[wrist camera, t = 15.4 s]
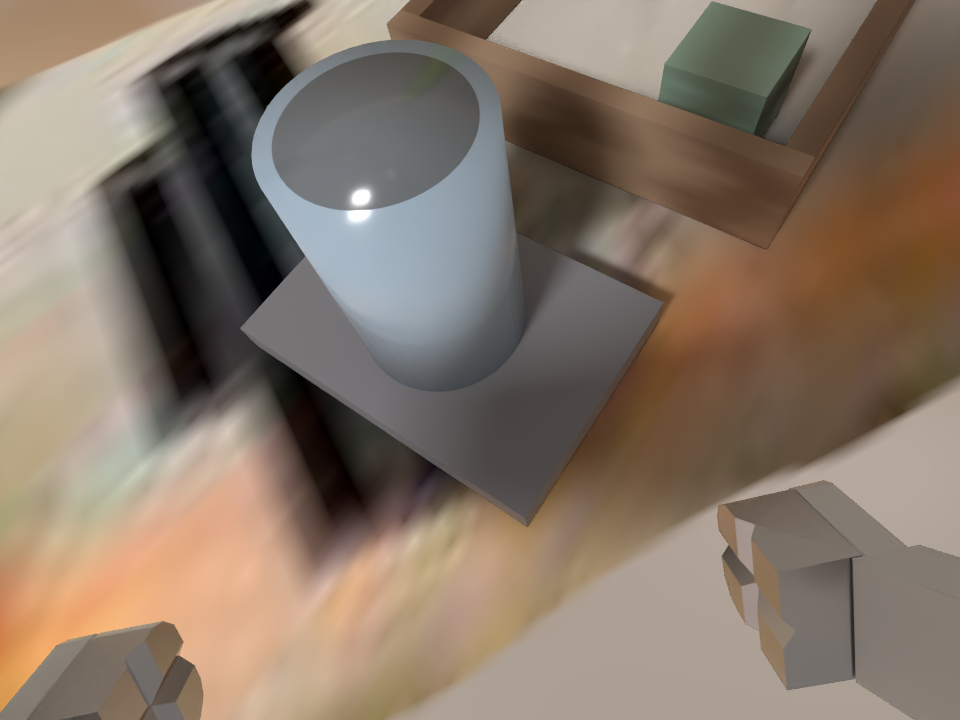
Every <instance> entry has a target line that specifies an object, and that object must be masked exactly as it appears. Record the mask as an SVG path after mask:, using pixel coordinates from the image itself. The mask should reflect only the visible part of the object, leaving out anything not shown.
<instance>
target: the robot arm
mask: <svg viewBox="0 0 960 720" xmlns="http://www.w3.org/2000/svg"><path fill="white" fill-rule="evenodd" d="M717 516H718V526H719V531H720V533H721V534H722V536H723V537H724V538H725V540H726V541H727V543H728V544H729V545H728V547H727V549H726V550H725V552H724V554H723V555H722V560H723V568H724V575H725V579H726V582H727V586H728V589H729V592H730V596H731V598H732V600H733V602H734V604H735V606H736V608H737V611H738V612H739V614H740V616H741V617H742V619H743V621H744V622H745V624H746V625H748V626H750V627H752V628H754V629H756V630H758V631H759V634H760V643H761V650H762V652H763V653H764V655H765V656H766V658H767V659H768V661H769V663H770V664H771V666H772V667H773V669H774V670H775V672H776V674H777V675H778V677H779V678H780V680H781V682H782V683H783V685H784V686H785V688H786V690H792V689H798V688H803V687H809V686H816V685H822V684H828V683H833V682H840V681H846V680H852V679H856V683H858V684H859V685H861V686H862V687H864V688H865V689H867V690H869V691H870V692H872V693H873V694H875V695H877V696H878V697H880V698H881V699H883V700H884V701H886V702H888V703H889V704H890V705H892V706H894V707H895V708H897V709H898V710H900V711H901V712H903V713H905V714H906V715H908V716H909V717H911V718H912V719H914V720H960V558H959V557H956V556H953V555H950V554H946V553H943V552H940V551H937V550H934V549H931V548H927V547H925V546H921V545H917V546H912V547H907V546H906V545H904V544H903V543H902V542H901V541H900V540H899V539H897V538H896V537H895V536H894V535H892V534H891V533H890V532H889V531H888V530H887V529H886V528H884V527H883V526H882V525H881V524H880V523H879V522H877V521H876V520H875V519H874V518H872V517H871V516H870V515H869V514H868V513H867V512H865V511H864V510H863V509H862V508H861V507H860V506H859V505H857V504H856V503H855V502H854V501H853V500H851V499H850V498H849V497H848V496H846V495H845V494H844V493H843V492H842V491H841V490H840V489H838V488H837V487H836V486H835V485H834V484H833V483H831V482H827V481H819V482H815V483H812V484H807V485H803V486H799V487H795V488H790V489H789V490H786V491H782V492H777V493H773V494H768V495H764V496H759V497H754V498H751V499H746V500H741V501H736V502H732V503H727V504H723V505H719V506H718V515H717ZM182 645H183V640H182V638H181V636H180V635H179V633H178V631H177V629H176V627H175V625H174V624H171V623H167V622H164V621H162V622H157V623H152V624H146V625H141V626H135V627H130V628H125V629H119V630H114V631H109V632H103V633H100V634H93V635H89V636H84V637H79V638H74V639H70V640H67V641H65V642H63V643H61V644H59V645H57V646H56V647H55V648H54V649H53V650H52V652H51V653H50V654H49V655H48V656H47V658H46V659H45V660H44V661H43V662H42V664H41V665H40V666H39V667H38V668H37V670H36V671H35V672H34V673H33V674H32V675H31V677H30V678H29V679H28V680H27V681H26V683H25V684H24V685H23V686H22V687H21V689H20V690H19V691H18V692H17V693H16V695H15V696H14V697H13V698H12V699H11V700H10V702H9V703H8V704H7V705H6V706H5V708H4V709H3V710H2V711H1V712H0V720H200V717H201V711H202V703H203V689H202V683H201V678H200V676H199V674H198V672H197V669H196V667H195V665H193V664H192V663H190V662H188V661H187V660H185V659H184V658H182V657H180V656H179V654H180V651H181V648H182Z"/></svg>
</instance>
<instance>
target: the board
mask: <svg viewBox="0 0 960 720" xmlns="http://www.w3.org/2000/svg"><path fill="white" fill-rule="evenodd" d="M516 234H517V242H518V251H519V259H520V267H521V275H522V283H523V291H524V300H525V308H526V319H525V325H524V330H523V333H522V336H521V339H520V341H519V343H518V345H517V347H516V349H515V350H514V352H513V353H512V355H511V356H510V357H509V359H508V360H507V361H506V362H505V363H504V364H503V365H502V366H501V367H500V368H499V369H498V370H497V371H495V372H494V373H493V374H491V375H490V376H488V377H487V378H485V379H483V380H481V381H480V382H478V383H475V384H473V385H470V386H468V387H464V388H461V389H457V390H451V391H440V392H433V391H423V390H419V389H414V388H411V387H408V386H406V385H403V384H401V383H399V382H398V381H396V380H394V379H393V378H391V377H390V376H389V375H387V374H386V373H385V372H384V371H383V370H382V369H381V368H380V367H379V366H378V364H377V363H376V362H375V360H374V359H373V357H372V356H371V354H370V353H369V351H368V350H367V348H366V347H365V345H364V344H363V342H362V341H361V339H360V338H359V336H358V335H357V333H356V331H355V330H354V328H353V327H352V325H351V324H350V322H349V321H348V319H347V318H346V316H345V315H344V313H343V312H342V310H341V309H340V307H339V306H338V304H337V303H336V301H335V300H334V298H333V297H332V295H331V294H330V292H329V291H328V289H327V288H326V286H325V285H324V283H323V282H322V280H321V279H320V277H319V276H318V274H317V272H316V271H315V269H314V268H313V266H312V265H311V263H310V262H309V260H308V259H307V257H306V256H305V257H304V258H303V259H302V261H301V262H300V263H299V264H298V265H297V266H296V267H295V268H294V269H293V271H292V272H291V273H290V274H289V275H288V276H287V277H286V278H285V279H284V281H283V282H282V283H281V284H280V285H279V286H278V287H277V288H276V289H275V290H274V292H273V293H272V294H271V295H270V296H269V297H268V298H267V299H266V300H265V302H264V303H263V304H262V305H261V306H260V307H259V308H258V309H257V310H256V312H255V313H254V314H253V315H252V316H251V317H250V318H249V319H248V320H247V321H246V323H245V324H244V325H243V326H242V327H241V328H240V329H241V330H242V331H243V332H244V333H245V334H246V335H247V336H248V337H249V338H250V339H251V340H252V341H253V342H254V343H255V344H256V345H257V346H259V347H260V348H262V349H263V350H264V351H266V352H267V353H269V354H270V355H272V356H273V357H275V358H276V359H278V360H279V361H281V362H282V363H284V364H285V365H287V366H288V367H290V368H291V369H293V370H294V371H296V372H297V373H299V374H300V375H302V376H303V377H305V378H306V379H308V380H309V381H311V382H312V383H314V384H315V385H317V386H318V387H320V388H321V389H323V390H324V391H326V392H327V393H329V394H330V395H332V396H333V397H335V398H336V399H337V400H339V401H340V402H342V403H343V404H345V405H346V406H348V407H349V408H351V409H352V410H354V411H355V412H357V413H358V414H360V415H361V416H363V417H364V418H366V419H367V420H369V421H370V422H372V423H373V424H375V425H376V426H378V427H379V428H381V429H382V430H384V431H385V432H387V433H388V434H390V435H391V436H393V437H394V438H396V439H397V440H399V441H400V442H402V443H403V444H405V445H406V446H408V447H409V448H411V449H412V450H413V451H415V452H416V453H418V454H419V455H421V456H422V457H424V458H425V459H427V460H428V461H430V462H431V463H433V464H434V465H436V466H437V467H439V468H440V469H442V470H443V471H445V472H446V473H448V474H449V475H451V476H452V477H454V478H455V479H457V480H458V481H460V482H461V483H463V484H464V485H466V486H467V487H469V488H470V489H472V490H473V491H475V492H476V493H478V494H479V495H481V496H482V497H484V498H485V499H487V500H488V501H489V502H491V503H492V504H494V505H495V506H497V507H498V508H500V509H501V510H503V511H504V512H506V513H507V514H509V515H510V516H512V517H513V518H515V519H516V520H518V521H519V522H521V523H522V524H524V525H525V526H527V527H528V525H529V524H530V522H531V521H532V519H533V518H534V516H535V514H536V513H537V511H538V510H539V508H540V507H541V505H542V503H543V502H544V500H545V499H546V497H547V496H548V494H549V492H550V491H551V489H552V488H553V486H554V485H555V483H556V482H557V480H558V478H559V477H560V475H561V474H562V472H563V471H564V469H565V467H566V466H567V464H568V463H569V461H570V460H571V458H572V456H573V455H574V453H575V452H576V450H577V449H578V447H579V446H580V444H581V442H582V441H583V439H584V438H585V436H586V435H587V433H588V431H589V430H590V428H591V427H592V425H593V424H594V422H595V420H596V419H597V417H598V416H599V414H600V413H601V411H602V410H603V408H604V406H605V405H606V403H607V402H608V400H609V399H610V397H611V395H612V394H613V392H614V391H615V389H616V388H617V386H618V384H619V383H620V381H621V380H622V378H623V377H624V375H625V374H626V372H627V370H628V369H629V367H630V366H631V364H632V363H633V361H634V359H635V358H636V356H637V355H638V353H639V352H640V350H641V348H642V347H643V345H644V344H645V342H646V341H647V339H648V338H649V336H650V334H651V333H652V331H653V330H654V328H655V327H656V325H657V323H658V320H659V317H660V313H661V310H662V306H663V302H661V301H659V300H657V299H655V298H653V297H651V296H649V295H647V294H644V293H642V292H640V291H638V290H636V289H634V288H632V287H630V286H628V285H626V284H624V283H621V282H619V281H617V280H615V279H613V278H611V277H609V276H607V275H605V274H603V273H600V272H598V271H596V270H594V269H592V268H590V267H588V266H586V265H584V264H582V263H580V262H577V261H575V260H573V259H571V258H569V257H567V256H565V255H563V254H561V253H559V252H556V251H554V250H552V249H550V248H548V247H546V246H544V245H542V244H540V243H538V242H536V241H533V240H531V239H529V238H527V237H525V236H523V235H521V234H519V233H517V232H516Z"/></svg>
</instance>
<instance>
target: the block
mask: <svg viewBox="0 0 960 720" xmlns="http://www.w3.org/2000/svg"><path fill="white" fill-rule="evenodd" d="M811 30H812V29H809V28H805V27H801V26H798V25H794V24H791V23H787V22H784V21H780V20H777V19H773V18H769V17H766V16H762V15H759V14H755V13H752V12H748V11H745V10H741V9H737V8H734V7H730V6H727V5H723V4H720V3H716V2H713V1H712V2H711V3H710V5H709V6H708V7H707V9H706V10H705V11H704V13H703V14H702V15H701V16H700V18H699V19H698V20H697V22H696V23H695V24H694V26H693V27H692V28H691V30H690V31H689V32H688V34H687V35H686V36H685V38H684V39H683V40H682V42H681V43H680V44H679V46H678V47H677V48H676V50H675V51H674V52H673V54H672V55H671V56H670V58H669V59H668V60H667V62H666V63H665V65H664V71H663V77H662V82H661V88H660V94H659V100H658V101H659V102H662V103H665V104H667V105H670V106H673V107H676V108H679V109H682V110H684V111H687V112H690V113H693V114H696V115H698V116H701V117H704V118H707V119H710V120H713V121H715V122H718V123H721V124H724V125H727V126H729V127H732V128H735V129H738V130H741V131H744V132H746V133H749V134H752V135H755V136H758V137H760V138H762V137H763V136H764V134H765V133H766V131H767V130H768V128H769V127H770V125H771V123H772V122H773V120H774V119H775V117H776V116H777V114H778V113H779V111H780V108H781V105H782V103H783V100H784V98H785V95H786V93H787V90H788V88H789V85H790V83H791V80H792V78H793V75H794V73H795V70H796V68H797V65H798V63H799V60H800V58H801V55H802V53H803V50H804V48H805V45H806V43H807V40H808V38H809V35H810V33H811Z"/></svg>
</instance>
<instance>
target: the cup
mask: <svg viewBox="0 0 960 720" xmlns="http://www.w3.org/2000/svg"><path fill="white" fill-rule="evenodd" d="M252 165H253V170H254V173H255V177H256V179H257V181H258V183H259V185H260V187H261V189H262V191H263V192H264V194H265V195H266V197H267V198H268V200H269V201H270V203H271V204H272V206H273V207H274V209H275V210H276V212H277V213H278V215H279V217H280V218H281V220H282V221H283V223H284V224H285V226H286V227H287V229H288V230H289V232H290V233H291V235H292V236H293V238H294V239H295V241H296V242H297V244H298V245H299V247H300V248H301V250H302V251H303V253H304V254H305V256H306V257H307V259H308V260H309V262H310V263H311V265H312V266H313V268H314V269H315V271H316V272H317V274H318V276H319V277H320V279H321V280H322V282H323V283H324V285H325V286H326V288H327V289H328V291H329V292H330V294H331V295H332V297H333V298H334V300H335V301H336V303H337V304H338V306H339V307H340V309H341V310H342V312H343V313H344V315H345V316H346V318H347V319H348V321H349V322H350V324H351V325H352V327H353V328H354V330H355V331H356V333H357V335H358V336H359V338H360V339H361V341H362V342H363V344H364V345H365V347H366V348H367V350H368V351H369V353H370V354H371V356H372V357H373V359H374V360H375V362H376V363H377V364H378V366H379V367H380V368H381V369H382V370H383V371H384V372H385V373H386V374H387V375H389V376H390V377H391V378H393V379H394V380H396V381H398V382H399V383H401V384H403V385H406V386H408V387H411V388H414V389H419V390H423V391H433V392H440V391H451V390H457V389H461V388H464V387H468V386H470V385H473V384H475V383H478V382H480V381H481V380H483V379H485V378H487V377H488V376H490V375H491V374H493V373H494V372H495V371H497V370H498V369H499V368H500V367H501V366H502V365H503V364H504V363H505V362H506V361H507V360H508V359H509V357H510V356H511V355H512V353H513V352H514V350H515V349H516V347H517V345H518V343H519V341H520V339H521V336H522V333H523V330H524V325H525V319H526V308H525V300H524V291H523V283H522V275H521V267H520V259H519V251H518V242H517V234H516V226H515V218H514V210H513V201H512V193H511V185H510V177H509V169H508V160H507V152H506V144H505V136H504V128H503V119H502V111H501V105H500V99H499V95H498V93H497V90H496V87H495V85H494V83H493V82H492V80H491V78H490V77H489V75H488V74H487V73H486V72H485V71H484V70H483V68H482V67H481V66H479V65H478V64H477V63H476V62H475V61H474V60H472V59H471V58H469V57H468V56H466V55H464V54H463V53H461V52H459V51H456V50H454V49H452V48H450V47H447V46H443V45H440V44H437V43H432V42H426V41H419V40H387V41H378V42H373V43H368V44H363V45H359V46H356V47H352V48H349V49H346V50H343V51H341V52H338V53H335V54H333V55H331V56H329V57H327V58H325V59H323V60H321V61H319V62H317V63H316V64H314V65H312V66H310V67H309V68H307V69H306V70H304V71H303V72H302V73H300V74H299V75H297V76H296V77H295V78H294V79H293V80H291V81H290V82H289V83H288V84H287V85H286V86H285V87H284V88H283V89H282V90H281V91H280V92H279V93H278V94H277V95H276V96H275V98H274V99H273V100H272V102H271V103H270V104H269V105H268V107H267V109H266V110H265V112H264V114H263V115H262V117H261V119H260V121H259V124H258V126H257V128H256V131H255V135H254V139H253V144H252Z"/></svg>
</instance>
